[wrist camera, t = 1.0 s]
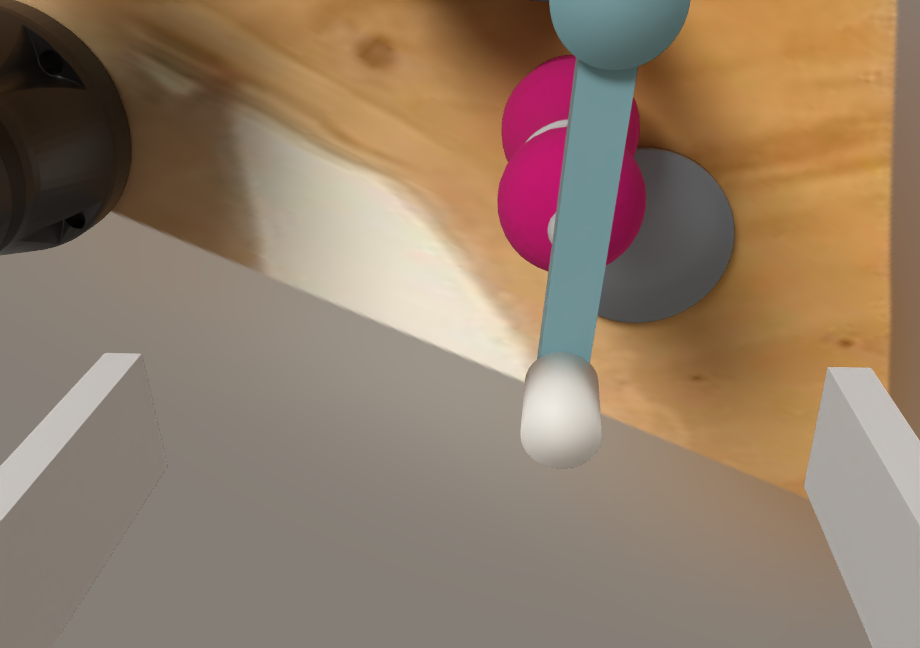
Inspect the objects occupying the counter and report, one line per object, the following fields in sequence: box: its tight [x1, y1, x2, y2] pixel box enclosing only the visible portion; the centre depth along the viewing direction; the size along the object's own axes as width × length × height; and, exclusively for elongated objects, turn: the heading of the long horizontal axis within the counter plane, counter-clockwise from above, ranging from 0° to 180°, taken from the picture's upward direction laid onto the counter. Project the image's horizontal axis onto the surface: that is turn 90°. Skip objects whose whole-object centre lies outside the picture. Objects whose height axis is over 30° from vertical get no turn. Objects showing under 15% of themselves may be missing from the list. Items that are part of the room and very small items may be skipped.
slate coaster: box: [598, 147, 734, 323], centre depth 51 cm, size 11×11×1 cm
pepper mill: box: [498, 55, 646, 271], centre depth 40 cm, size 7×7×20 cm
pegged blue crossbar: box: [521, 0, 690, 469], centre depth 25 cm, size 15×4×6 cm, turn 176°
